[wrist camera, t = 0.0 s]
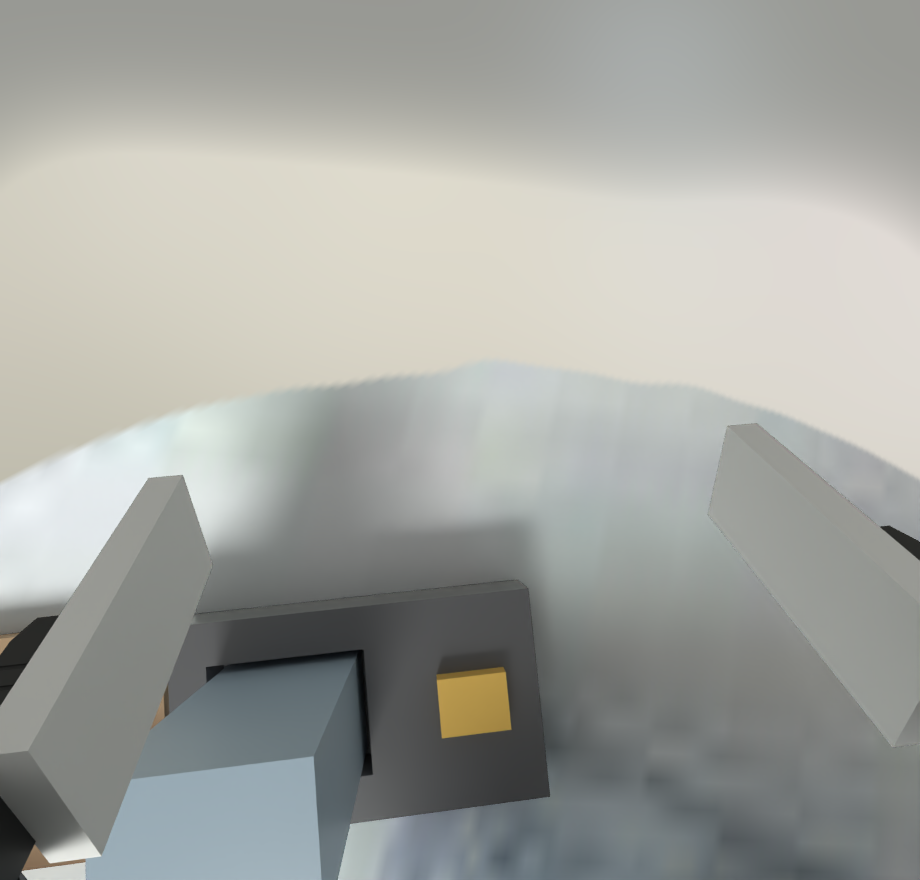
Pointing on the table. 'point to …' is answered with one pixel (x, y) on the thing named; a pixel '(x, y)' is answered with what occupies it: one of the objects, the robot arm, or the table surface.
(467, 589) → the dark grey holder
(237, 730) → the light blue tall block
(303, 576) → the table surface
